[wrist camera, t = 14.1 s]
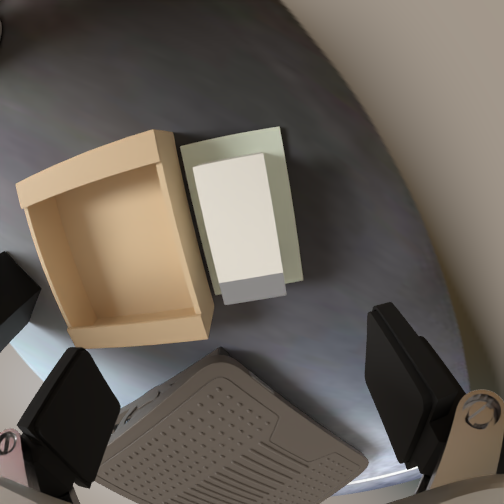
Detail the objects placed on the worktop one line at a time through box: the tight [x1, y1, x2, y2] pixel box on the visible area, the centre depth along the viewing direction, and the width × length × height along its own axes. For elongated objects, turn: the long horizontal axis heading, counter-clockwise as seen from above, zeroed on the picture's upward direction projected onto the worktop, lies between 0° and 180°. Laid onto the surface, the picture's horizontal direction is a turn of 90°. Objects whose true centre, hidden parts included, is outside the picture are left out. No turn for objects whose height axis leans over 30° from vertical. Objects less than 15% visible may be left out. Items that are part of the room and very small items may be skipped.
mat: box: [180, 127, 303, 295], centre depth 28 cm, size 15×9×1 cm, turn 10°
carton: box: [16, 129, 214, 349], centre depth 26 cm, size 18×15×6 cm
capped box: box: [192, 152, 286, 305], centre depth 25 cm, size 11×5×6 cm, turn 10°
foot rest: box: [94, 347, 369, 504], centre depth 35 cm, size 39×30×13 cm
